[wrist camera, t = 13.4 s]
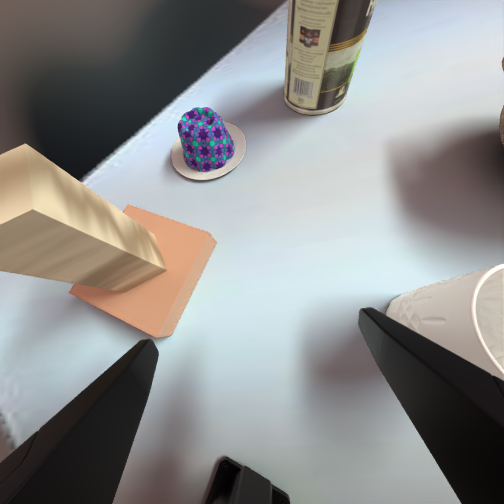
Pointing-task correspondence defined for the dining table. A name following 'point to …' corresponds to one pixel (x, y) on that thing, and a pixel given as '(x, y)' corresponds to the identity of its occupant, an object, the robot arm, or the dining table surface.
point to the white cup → (460, 316)
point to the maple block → (68, 229)
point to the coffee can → (323, 51)
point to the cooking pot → (502, 117)
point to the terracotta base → (158, 277)
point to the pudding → (206, 145)
